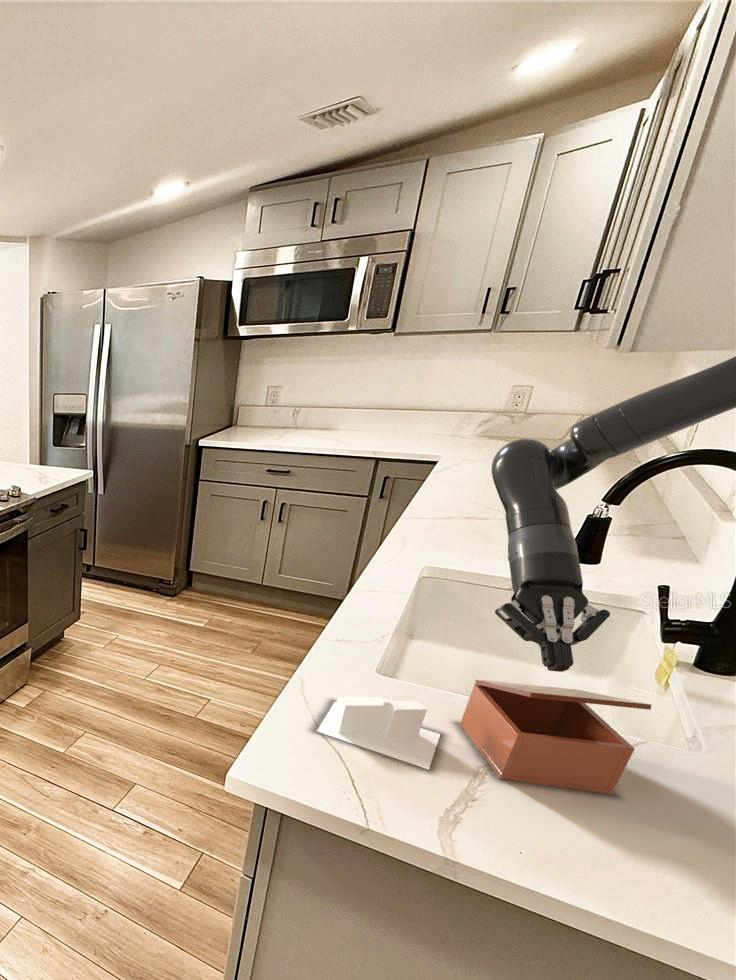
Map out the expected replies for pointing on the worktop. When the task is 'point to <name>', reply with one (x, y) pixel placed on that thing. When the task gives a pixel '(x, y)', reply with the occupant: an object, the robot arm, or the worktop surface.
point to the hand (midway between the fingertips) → (559, 670)
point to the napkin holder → (383, 727)
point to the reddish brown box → (545, 740)
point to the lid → (562, 694)
